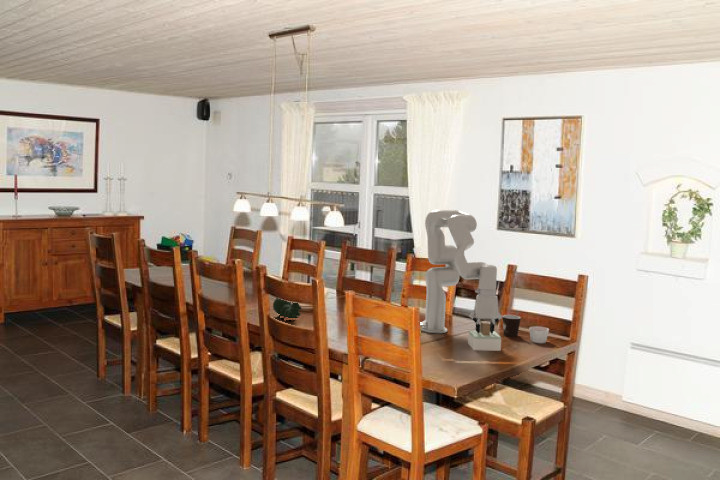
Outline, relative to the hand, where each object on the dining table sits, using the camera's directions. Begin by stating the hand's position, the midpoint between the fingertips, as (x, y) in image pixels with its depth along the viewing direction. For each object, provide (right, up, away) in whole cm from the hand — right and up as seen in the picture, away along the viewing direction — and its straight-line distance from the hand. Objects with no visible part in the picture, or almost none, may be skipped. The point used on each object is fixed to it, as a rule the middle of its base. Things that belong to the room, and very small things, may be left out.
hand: (484, 332), depth 305 cm
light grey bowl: (+29, -7, +18) cm, 35 cm away
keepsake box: (0, -8, +1) cm, 8 cm away
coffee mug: (+17, -6, +27) cm, 32 cm away
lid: (0, -2, 0) cm, 2 cm away
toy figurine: (-94, 0, +45) cm, 104 cm away
